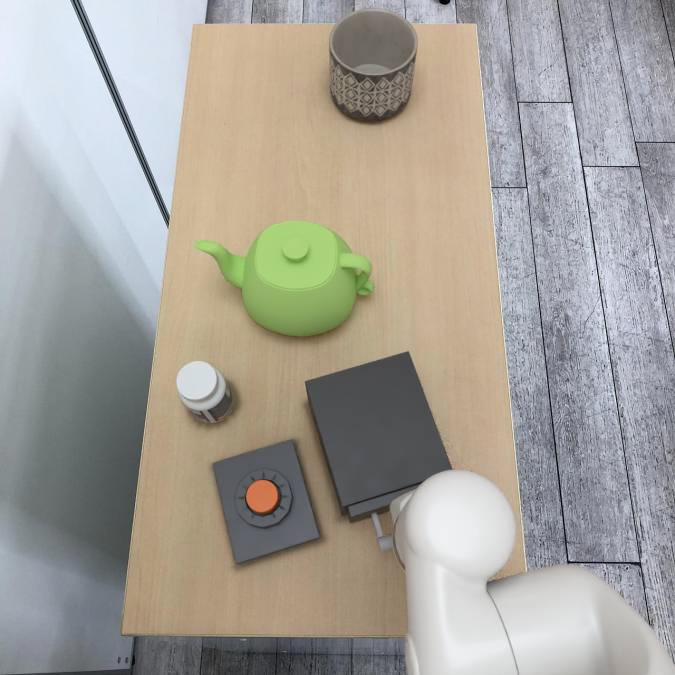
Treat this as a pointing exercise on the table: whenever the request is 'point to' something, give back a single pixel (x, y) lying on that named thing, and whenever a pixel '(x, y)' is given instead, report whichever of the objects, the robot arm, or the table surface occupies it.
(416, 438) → the drawer cabinet casing
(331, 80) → the planter
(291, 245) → the teapot
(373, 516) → the drawer with pull handle
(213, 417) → the pill bottle
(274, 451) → the control pad
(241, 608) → the table surface
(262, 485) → the button
